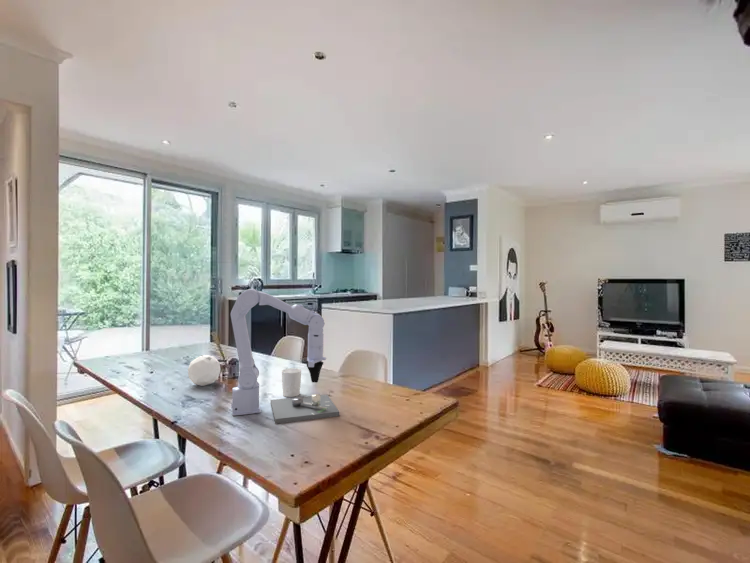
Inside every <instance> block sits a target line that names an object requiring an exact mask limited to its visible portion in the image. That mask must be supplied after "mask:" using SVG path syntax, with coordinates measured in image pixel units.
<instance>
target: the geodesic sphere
mask: <svg viewBox="0 0 750 563" xmlns="http://www.w3.org/2000/svg"><path fill="white" fill-rule="evenodd" d="M220 373H221V364H220V361H218V359H217V358H216V357H215V356H213V355H209V354H203V355H200V356H197V357H196V358H195V359H193V360H191V361H190V363H189V366H188V369H187V374H188V379H189V380H190V381H191V382H192V383H193V384H194V385H198V386H201V387H205V386H209V385H212V384H213V383H214V382H215V381H217V380H218V379H219V376H220Z"/></svg>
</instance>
